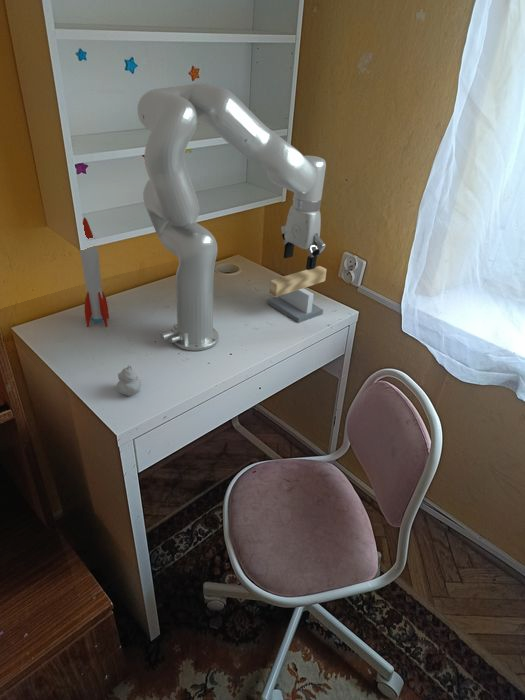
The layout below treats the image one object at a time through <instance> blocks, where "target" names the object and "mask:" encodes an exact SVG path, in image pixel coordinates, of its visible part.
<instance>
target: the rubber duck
mask: <svg viewBox="0 0 525 700" xmlns="http://www.w3.org/2000/svg"><path fill="white" fill-rule="evenodd" d="M117 377H118V380H119V381H118V382H117V383H116V389H117V391H119V393H121V394H122V395H125V396H133V395H136V394H138V393H139V392H140V390H141V386H142V381H141V378H140V377H139V376H137V373H136V370H135V369H134V368H133V367H132V365H130V364H128V365H127V367H124V368H123V369H122V370H121V372H119V373H118V374H117Z"/></svg>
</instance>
